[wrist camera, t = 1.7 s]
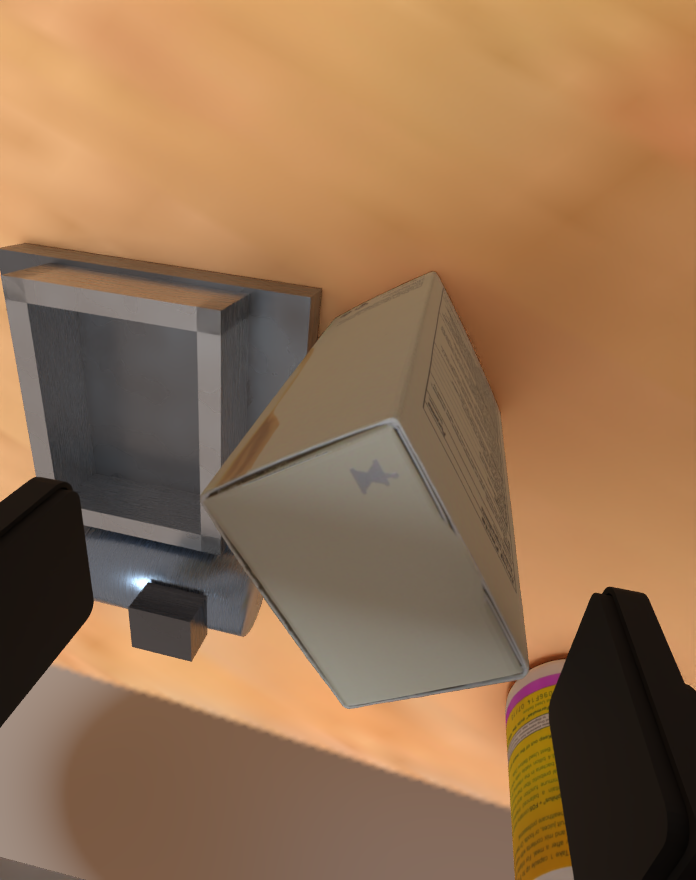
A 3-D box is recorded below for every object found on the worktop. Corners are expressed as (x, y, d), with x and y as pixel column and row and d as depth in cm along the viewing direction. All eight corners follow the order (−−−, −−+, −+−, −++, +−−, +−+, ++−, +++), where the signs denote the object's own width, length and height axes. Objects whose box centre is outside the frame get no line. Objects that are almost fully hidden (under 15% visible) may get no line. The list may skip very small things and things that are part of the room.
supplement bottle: (493, 733, 29) (503, 1100, 18) (519, 638, 26) (550, 1008, 15) (632, 764, 28) (735, 1174, 17) (675, 668, 25) (838, 1091, 14)
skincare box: (329, 318, 21) (176, 483, 10) (438, 265, 20) (389, 396, 9) (404, 460, 23) (339, 723, 12) (507, 423, 22) (536, 687, 11)
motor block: (321, 288, 21) (261, 338, 15) (298, 578, 27) (249, 691, 21) (24, 243, 22) (-131, 272, 17) (68, 526, 29) (-34, 618, 23)
